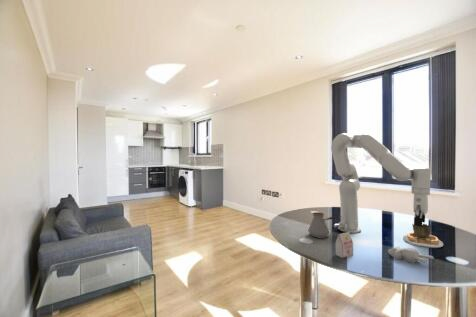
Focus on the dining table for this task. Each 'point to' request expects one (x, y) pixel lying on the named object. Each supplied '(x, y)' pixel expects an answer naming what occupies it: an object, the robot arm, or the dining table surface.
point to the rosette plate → (423, 241)
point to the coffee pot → (319, 225)
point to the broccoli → (422, 231)
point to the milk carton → (344, 245)
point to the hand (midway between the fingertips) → (419, 223)
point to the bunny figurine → (408, 255)
